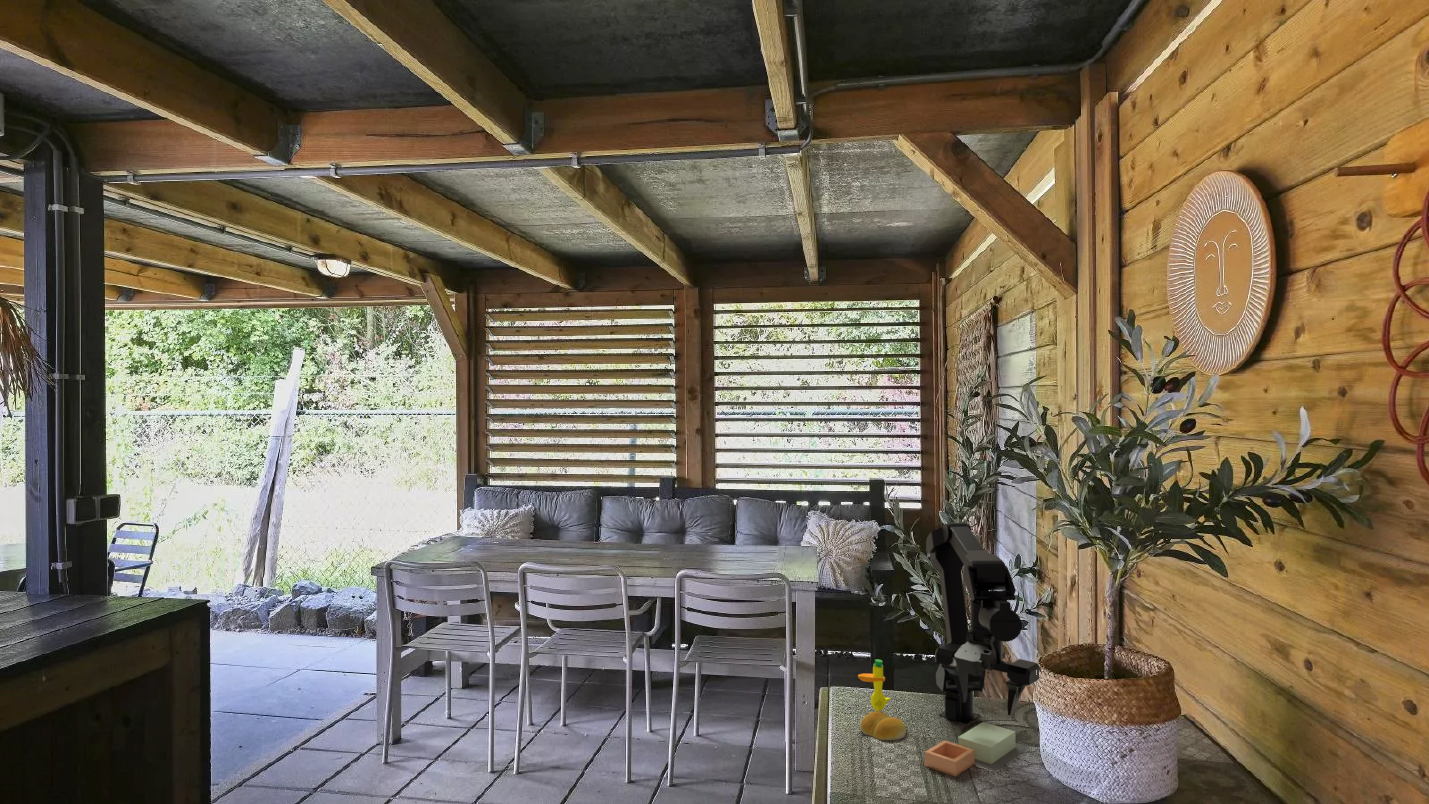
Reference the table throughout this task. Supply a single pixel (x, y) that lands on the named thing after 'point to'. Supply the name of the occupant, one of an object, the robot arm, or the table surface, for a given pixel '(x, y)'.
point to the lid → (988, 741)
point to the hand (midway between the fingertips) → (986, 708)
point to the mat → (1002, 758)
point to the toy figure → (876, 685)
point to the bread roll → (882, 726)
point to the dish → (949, 758)
